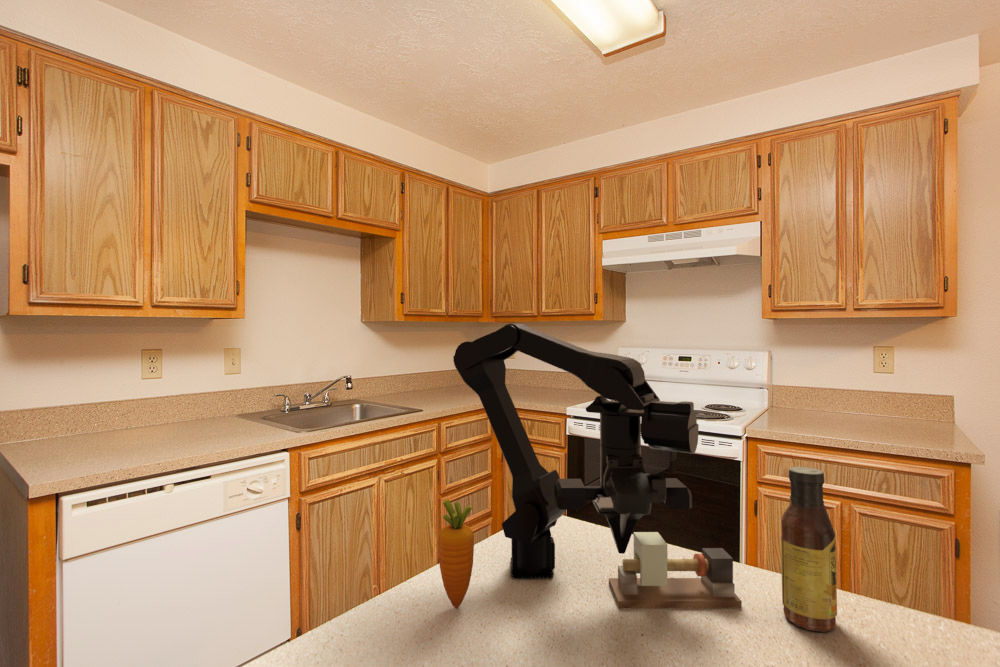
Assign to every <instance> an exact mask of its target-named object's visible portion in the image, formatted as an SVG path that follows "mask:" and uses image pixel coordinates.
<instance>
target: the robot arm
mask: <svg viewBox="0 0 1000 667" xmlns="http://www.w3.org/2000/svg"><path fill="white" fill-rule="evenodd" d="M518 352H520V353H522V354H525V355H528V356H530V357H532V358H534V359H537V360H539V361H541V362H544V363H545V364H549V365H550V366H553V367H555V368H557V369H560V370H563V371H564V372H567V373H569V374H572V375H573V376H575V377H577V378H578V379H579V380H580V381H581V382H582V383H583V384H584V385H585V386H587V388H589V389H590V390H592V391H593V392H595V393H596V394H598V395H597V396H596V397H595V398H594V399H593V401H592V402H591V403H590V404H589V405H588V406H586V407H585V412H587V413H594V414H599V438H600V439H599V440H600V441H599V442H600V443H599V454H600V456H599V457H600V458H599V459H600V463H599V465H600V474H599V476H600V478H599V480H600V485H584V482H583V481H582V478H560V475H559V472H558V471H557V470H556V469H554V470H551V471H550V472H549V471H548V470H547V469H546V468H544V467H543V465H542V464H541V463H540V462H539V458H538V457H537V455H536V453H535V450H534V448H533V445H532V443H531V441H530V438H529V436H528V434H527V432H526V430H525V427H524V425H523V423H522V420H521V417H520V416H519V413H518V411H517V409H516V407H515V404H514V402H513V399H512V397H511V394H510V393H509V391H508V390H509V389H508V388H507V386H506V385H507V384H506V372H507V370H506V368H507V367H506V364H505V360H507V359H509V358H511V357H513V356H514V355H515V354H516V353H518ZM452 358H453V365H454V367H455V369H456V370H457V373H458V374H459V376H460V377H461V379H462V381H463V382H464V383H465V385H467V386H468V387H469V388H470V389H471V390H472V391H473V392H474V393H475V394H476V395H477V396H478V397H479V399H480V402H481V405H482V407H483V410H484V412H485V415H486V416H487V419H488V421H489V424H490V426H491V428H492V431H493V434H494V436H495V438H496V440H497V443H498V446H499V448H500V450H501V452H502V455H503V457H504V460H505V462H506V465H507V467H508V469H509V472H510V474H511V478H512V480H511V482H512V485H511V500H512V503H513V506H514V512H513V513H512V514H510V515H509V517H508V518H506V519H505V520H504V521H502V523H501V526H502V530H503V534H504V537H505V538H507V539H510V540H511V557H510V578H512V579H519V580H520V579H523V580H524V579H525V580H526V579H553V578H554V573H553V570H555V569H556V553H555V552H556V544H555V540H554V539H555V538H554V537H553V536H552V532H551V528H552V527H555V526H556V525H557V522H558V519H560V518H561V517H562V516H563V515H564V514H565V511H569V510H571V511H572V510H575V511H576V510H578V511H579V510H582V509H583V508H585V506H586V505H587V501H592V503H593V506H594V508H595V510H596V511H597V513H598V514H599V515H601V516H605V518H606V521H607V522H608V523H607V524H608V526H609V528H610V532H611V535H612V537H613V541H614V544H615V548H616V549H617V552H618V554H619V555H620V554H621V555H622V554H626V550H627V548H628V546H629V542H630V539H631V538H632V534H633V533H634V532H633V531H634V530H635V527H636V525H637V523H638V522H639V520H640V519H641V518H642V517H643V516H646V515H647V516H648V515H650V514H651V512H652V511H651V510H652V504H661V503H662V502H663V503H664V504H665V505H666V506H667V507H668V508H669V509H670V510H690V509H692V508H693V495H692V492H691V491H692V490H690V489H689V487H687V486H686V485H685V484H684V483H683V482H681V481H680V480H679V479H678V478H677V477H674V478H673V477H668V478H667V477H665V475H664V473H646V471H645V468H644V460H643V456H642V445H641V444H642V442H641V440H642V441H643V444H645V445H647V446H648V448H649V449H651V450H660V451H668V452H676V453H682V454H683V453H684V454H691V455H692V454H693V455H694V454H695V453H696V451H697V448H698V441H699V423H698V422H697V414H696V411H695V405H694V404H695V403H694V402H693V401H679V402H677V401H661V400H660V398H659V396H658V395H657V394H656V392H655V391H654V389H653V388H652V387H651V385H650V384H649V383H648V381H647V380H646V377H645V376H646V375H645V370H644V369H643V366H642V364H641V363H640V362H639V361H638V360H636V359H635V358H631V357H628V356H622V355H619V354H618V355H617V354H611V353H606V352H598V351H592V350H588V349H585V348H583V347H580V346H577V345H575V344H572V343H570V342H567V341H564V340H562V339H559V338H557V337H555V336H552V335H550V334H546V333H543V332H541V331H539V330H536V329H533V328H531V327H530V326H528V325H527V324H524V323H508V324H507V323H506V324H505V325H504V326H502V327H501V328H499V329H497V330H496V331H493V332H490V333H488V334H485V335H483V336H481V337H479V338H476V339H474V340H473V341H472V340H471V341H464V342H463V341H462V342H461V343H459V345H458V346H457V348H456V349H455V352H454V355H453V357H452Z"/></svg>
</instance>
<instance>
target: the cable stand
mask: <svg viewBox="0 0 1000 667" xmlns="http://www.w3.org/2000/svg"><path fill="white" fill-rule="evenodd" d="M635 571H640V559H634V558H623V559H622V565H617V578H616V577H610V578H608V587H609V588H610V591H611V594H612V595H613V597H614V598H613V599H614V601H615V603H616V606H617V608H618V609H742V606H743V605H742V602H743V601H742V600H741V599H740V597H739V596H738V595H737V594H736V593H735V591H736V590H735V589H736V588H735V583H734V558H733V557H732V556H731V555H730V554H729V553H728V552H727V551H726V550H725V549H724V548H723V547H707V548H706V547H702V548H701V553H694V554H693V556H692V558H667V572H695V574H696V576H697V577H676V578H675V577H667V586H642V585H641V583H640V577H638V574H636V573H635Z"/></svg>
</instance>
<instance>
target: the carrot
mask: <svg viewBox="0 0 1000 667" xmlns="http://www.w3.org/2000/svg"><path fill="white" fill-rule="evenodd" d="M453 504H454V507H455V509H454V507H453V505H452V502H451V501H450V499H446V500H444V501H443V506H444V508H445V510H446V511H447V513H448V515H447V514H443V515H442V519H444V520H445V521H446V522H447V523H448V524H446V525H445V526H444V527H443V528H442V529H441V530H439V531H438V537H437V538H438V539H437V540H438V541H437V542H438V543H437V544H438V546H437V547H438V564H439V569H440V570H439V571H440V575H441V580H442V585H443V587H444V590H445V593H446V596H447V597H448V599H449V601H450V603H451V605H452V607H454V609H458V608H460V606H461V605H462V603H463V601H464V599H465V596H466V595H467V591H468V590H469V586H470V582H471V577H472V573H473V572H472V571H473V566H474V553H475V552H474V551H475V550H474V548H475V536H474V535H475V534H474V531H473V530H472V529H471V528H470V527H469V526H468V525H467V524H465V521H466V519H467V517H468V515H469V513H470V512H471V511H472V508H473V507H472V506H471V505H466V506H465V507H464V509H463V510H462V506H461V503H460V502H454V503H453Z"/></svg>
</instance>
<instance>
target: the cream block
mask: <svg viewBox="0 0 1000 667" xmlns="http://www.w3.org/2000/svg"><path fill="white" fill-rule="evenodd" d="M633 559H640V571H635V573H636V575H639V578H640V583H641V585H642V586H667V578H668V571H667V559H668V543H667V542H666V541H665V540H664V538H663V537H662V535H661V534H660V533H659V532H658V531H636V532H635V531H634V532H633Z"/></svg>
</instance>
